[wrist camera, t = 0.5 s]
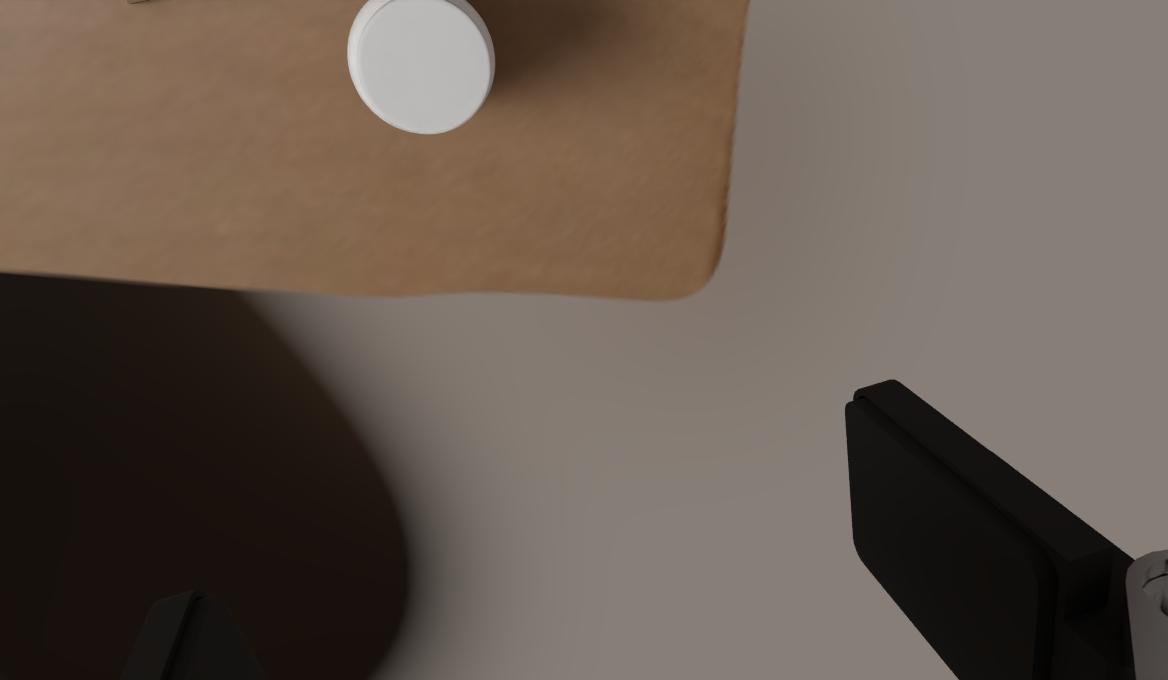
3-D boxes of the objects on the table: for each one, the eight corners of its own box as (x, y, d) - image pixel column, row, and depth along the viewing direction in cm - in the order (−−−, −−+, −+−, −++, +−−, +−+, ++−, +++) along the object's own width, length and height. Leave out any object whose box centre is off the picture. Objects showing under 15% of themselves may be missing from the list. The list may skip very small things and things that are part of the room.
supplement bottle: (352, 100, 30) (335, 134, 23) (360, -29, 29) (345, -37, 21) (472, 119, 32) (493, 157, 24) (486, -3, 30) (514, -3, 22)
